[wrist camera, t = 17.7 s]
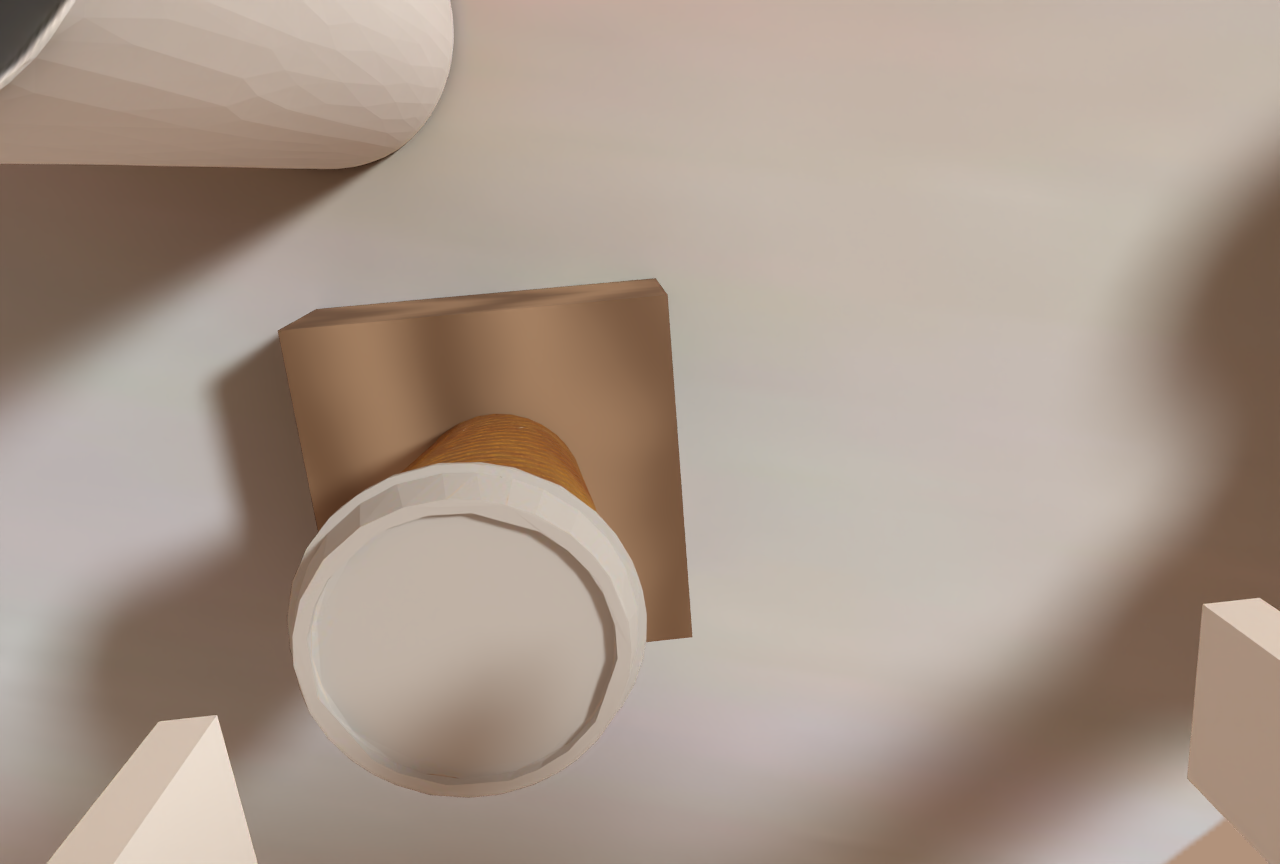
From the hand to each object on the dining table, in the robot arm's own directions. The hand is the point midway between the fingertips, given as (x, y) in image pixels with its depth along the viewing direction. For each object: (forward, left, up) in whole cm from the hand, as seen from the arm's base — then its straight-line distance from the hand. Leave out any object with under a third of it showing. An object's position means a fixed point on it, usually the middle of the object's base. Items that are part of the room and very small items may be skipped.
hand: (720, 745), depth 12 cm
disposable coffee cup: (+5, +4, -23) cm, 24 cm away
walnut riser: (+5, +4, -27) cm, 28 cm away
